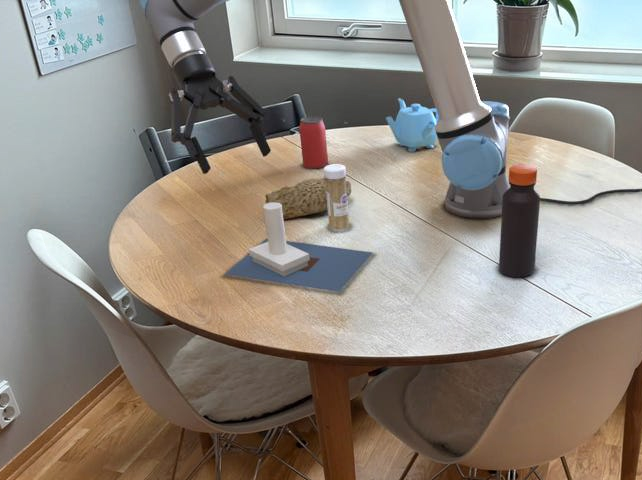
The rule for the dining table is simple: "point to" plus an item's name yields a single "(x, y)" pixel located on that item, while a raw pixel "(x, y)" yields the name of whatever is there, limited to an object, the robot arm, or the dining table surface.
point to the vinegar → (519, 223)
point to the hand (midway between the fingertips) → (238, 162)
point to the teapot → (414, 126)
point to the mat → (309, 267)
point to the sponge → (303, 198)
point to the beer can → (313, 142)
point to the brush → (278, 245)
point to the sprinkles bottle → (336, 196)
